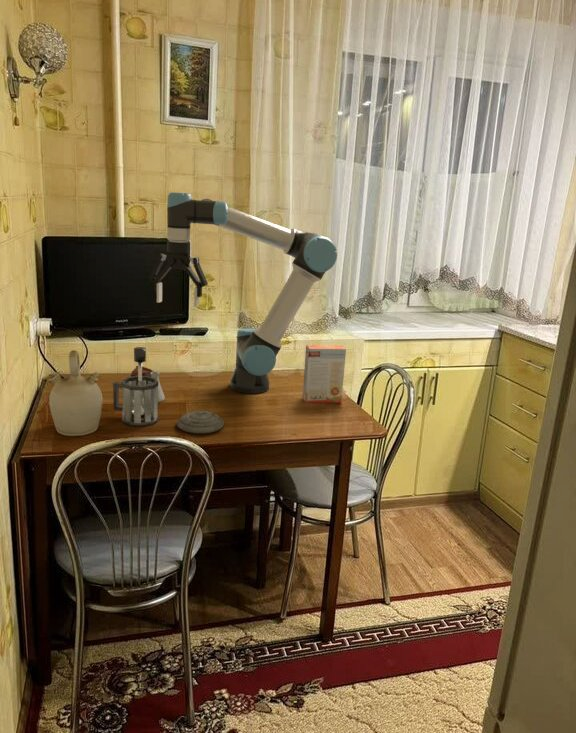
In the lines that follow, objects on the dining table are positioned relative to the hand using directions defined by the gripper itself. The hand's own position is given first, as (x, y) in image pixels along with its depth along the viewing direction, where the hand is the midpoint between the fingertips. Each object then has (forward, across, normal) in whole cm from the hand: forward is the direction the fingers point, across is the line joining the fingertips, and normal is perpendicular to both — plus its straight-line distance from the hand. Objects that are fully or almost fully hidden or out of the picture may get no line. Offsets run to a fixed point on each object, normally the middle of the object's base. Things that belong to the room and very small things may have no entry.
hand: (177, 304), depth 206 cm
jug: (+35, +17, +36) cm, 53 cm away
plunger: (+32, +3, +22) cm, 39 cm away
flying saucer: (+35, -17, +20) cm, 44 cm away
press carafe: (+35, +5, +22) cm, 41 cm away
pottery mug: (+35, +18, -10) cm, 41 cm away
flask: (+35, +7, +3) cm, 36 cm away
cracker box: (+35, -49, -21) cm, 64 cm away
